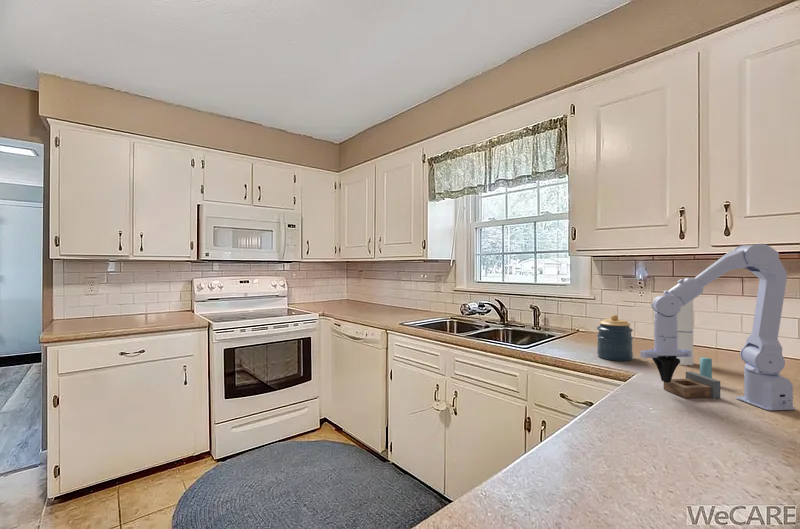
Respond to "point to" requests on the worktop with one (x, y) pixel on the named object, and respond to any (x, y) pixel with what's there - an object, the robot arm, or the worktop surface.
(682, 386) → the brown square frame
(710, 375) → the dowel
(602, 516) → the worktop surface
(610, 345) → the canister
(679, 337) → the cylindrical container
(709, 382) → the board
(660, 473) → the worktop surface
